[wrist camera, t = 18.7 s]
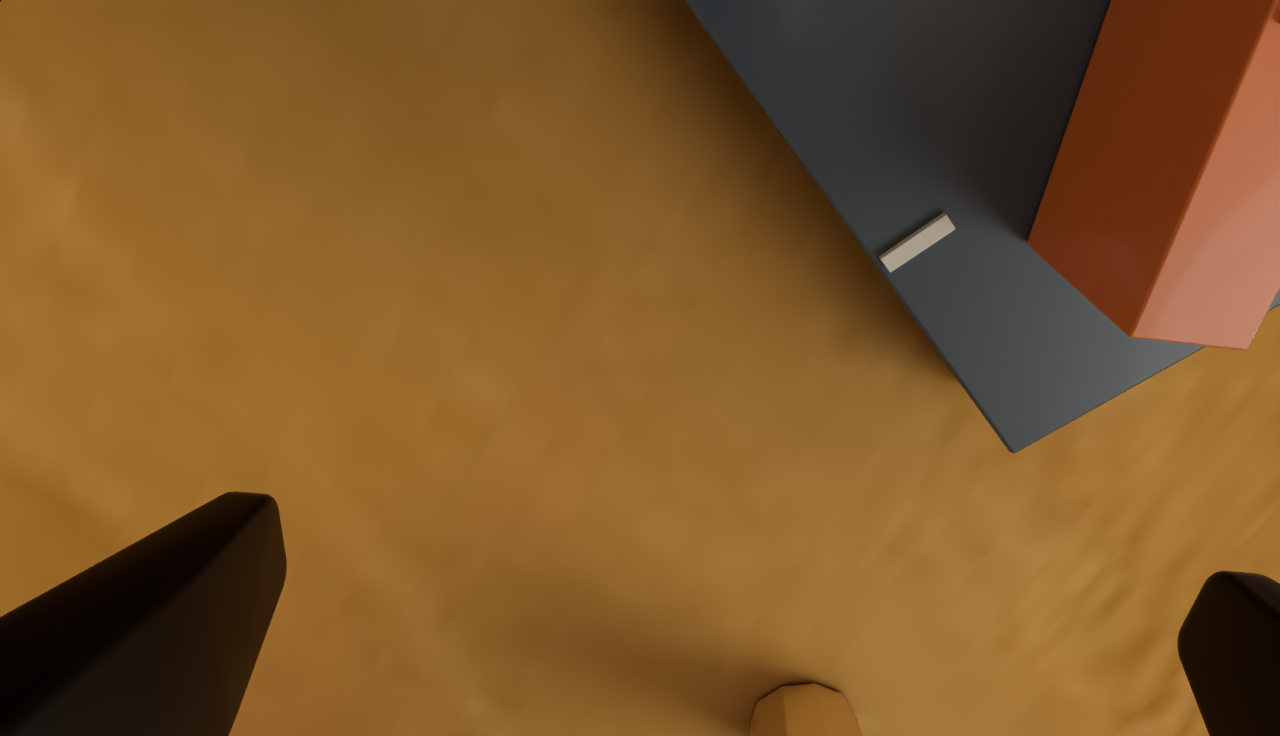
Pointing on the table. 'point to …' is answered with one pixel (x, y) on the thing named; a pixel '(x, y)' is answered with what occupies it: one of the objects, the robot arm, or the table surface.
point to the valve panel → (949, 177)
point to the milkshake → (804, 713)
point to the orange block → (1173, 172)
